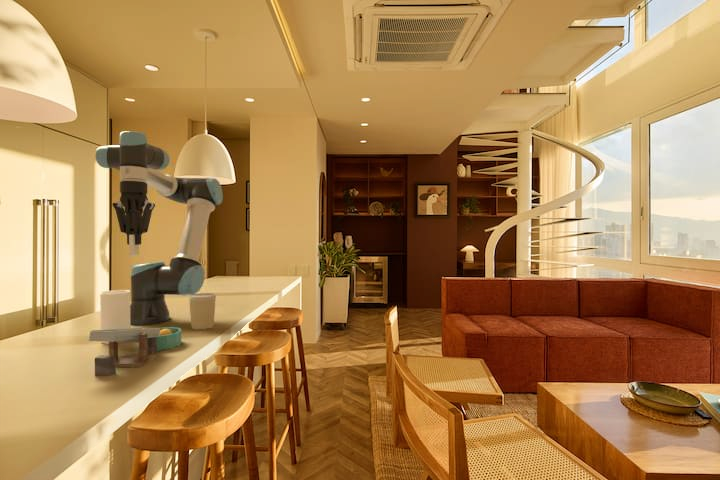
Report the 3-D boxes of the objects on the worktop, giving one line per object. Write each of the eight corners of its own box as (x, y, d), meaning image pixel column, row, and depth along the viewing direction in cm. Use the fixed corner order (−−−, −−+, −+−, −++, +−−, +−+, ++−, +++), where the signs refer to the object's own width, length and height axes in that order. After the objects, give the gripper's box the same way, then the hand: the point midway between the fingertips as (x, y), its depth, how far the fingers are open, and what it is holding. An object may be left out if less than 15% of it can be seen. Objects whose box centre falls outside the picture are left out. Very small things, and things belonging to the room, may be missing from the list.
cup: (136, 336, 127) (135, 290, 126) (118, 344, 118) (117, 294, 118) (113, 336, 127) (113, 289, 127) (94, 343, 119) (93, 293, 119)
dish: (156, 339, 124) (155, 326, 124) (187, 340, 123) (187, 327, 123) (133, 349, 113) (133, 336, 113) (168, 350, 112) (168, 337, 112)
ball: (158, 343, 120) (164, 334, 123) (170, 344, 119) (176, 334, 123) (153, 335, 117) (160, 325, 121) (166, 336, 117) (172, 326, 120)
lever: (123, 339, 112) (124, 327, 113) (159, 340, 111) (160, 328, 112) (69, 344, 93) (71, 329, 94) (112, 345, 92) (114, 330, 93)
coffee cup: (207, 322, 147) (206, 292, 147) (221, 326, 142) (220, 294, 141) (184, 327, 140) (184, 295, 139) (198, 331, 134) (197, 298, 134)
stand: (132, 350, 113) (132, 324, 112) (167, 351, 112) (167, 325, 112) (81, 374, 94) (81, 343, 94) (123, 376, 93) (123, 344, 93)
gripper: (105, 179, 116) (106, 255, 116) (145, 179, 115) (146, 256, 115) (122, 182, 123) (123, 253, 124) (160, 182, 122) (160, 254, 123)
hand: (134, 254), depth 120 cm, fingers closed
